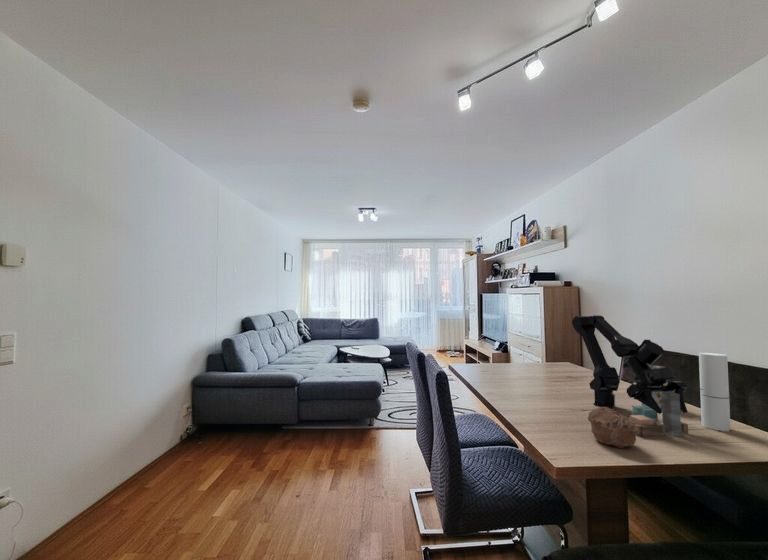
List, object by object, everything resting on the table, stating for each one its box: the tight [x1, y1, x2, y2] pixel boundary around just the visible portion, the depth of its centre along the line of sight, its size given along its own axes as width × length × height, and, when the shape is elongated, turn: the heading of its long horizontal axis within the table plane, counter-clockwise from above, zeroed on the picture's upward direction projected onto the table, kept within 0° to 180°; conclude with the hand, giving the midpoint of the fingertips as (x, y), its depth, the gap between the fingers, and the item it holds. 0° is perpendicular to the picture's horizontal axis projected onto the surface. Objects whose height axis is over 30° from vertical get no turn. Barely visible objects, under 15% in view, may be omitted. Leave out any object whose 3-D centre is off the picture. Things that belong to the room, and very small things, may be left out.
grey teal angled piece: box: [632, 392, 684, 437], centre depth 116 cm, size 14×5×13 cm, turn 6°
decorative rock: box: [587, 406, 639, 449], centre depth 103 cm, size 13×11×10 cm
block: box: [629, 414, 654, 425], centre depth 113 cm, size 4×4×4 cm
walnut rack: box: [635, 421, 689, 437], centre depth 113 cm, size 8×18×3 cm, turn 96°
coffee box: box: [641, 364, 669, 409], centre depth 141 cm, size 9×6×16 cm
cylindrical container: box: [698, 351, 732, 432], centre depth 117 cm, size 7×7×25 cm
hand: (673, 412), depth 110 cm, fingers open, 9 cm apart
